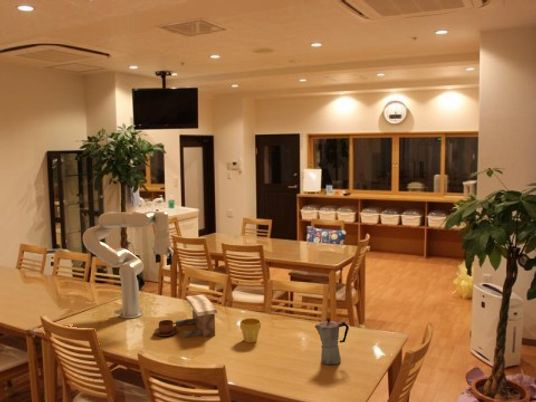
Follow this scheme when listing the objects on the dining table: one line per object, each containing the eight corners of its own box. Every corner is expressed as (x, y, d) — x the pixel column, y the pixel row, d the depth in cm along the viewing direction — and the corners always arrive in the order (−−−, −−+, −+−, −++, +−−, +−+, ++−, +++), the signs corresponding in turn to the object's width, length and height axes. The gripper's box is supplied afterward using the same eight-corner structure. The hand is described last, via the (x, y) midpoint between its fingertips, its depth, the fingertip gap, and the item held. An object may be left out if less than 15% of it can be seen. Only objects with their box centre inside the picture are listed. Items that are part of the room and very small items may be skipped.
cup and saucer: (169, 327, 273) (169, 316, 272) (182, 333, 264) (181, 322, 263) (150, 333, 264) (149, 322, 264) (162, 340, 256) (162, 328, 255)
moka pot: (313, 357, 233) (312, 315, 230) (345, 355, 234) (345, 314, 231) (316, 366, 223) (316, 323, 221) (350, 364, 224) (351, 321, 222)
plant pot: (263, 337, 257) (263, 319, 256) (256, 345, 247) (256, 326, 246) (245, 335, 260) (244, 316, 259) (237, 342, 250) (236, 323, 249)
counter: (184, 340, 254) (183, 314, 252) (174, 322, 280) (173, 298, 278) (217, 335, 260) (216, 309, 258) (204, 318, 286) (203, 294, 284)
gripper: (147, 233, 286) (148, 262, 288) (167, 236, 275) (168, 267, 277) (157, 231, 292) (159, 260, 294) (177, 234, 281) (178, 264, 283)
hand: (163, 263), depth 285 cm, fingers open, 9 cm apart
